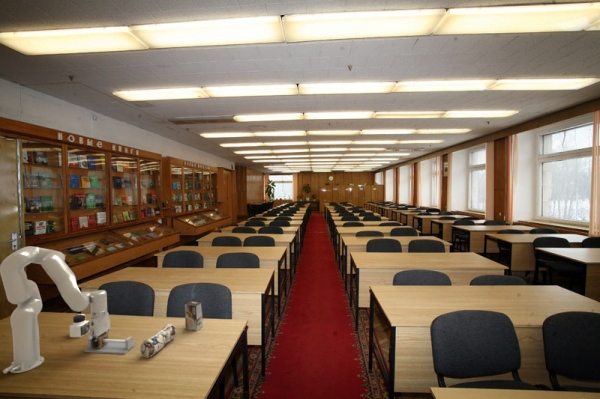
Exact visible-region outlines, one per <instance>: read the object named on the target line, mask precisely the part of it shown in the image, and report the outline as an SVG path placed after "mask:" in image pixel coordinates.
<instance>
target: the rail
mask: <svg viewBox="0 0 600 399" xmlns="http://www.w3.org/2000/svg"><path fill="white" fill-rule="evenodd" d="M102 342H108V344H106V345H105V346H103V347H102V348H100V349H96V348H92V341H91V340H89V339H87V348H85V349H84V350H83V351H84V353H92V354H111V355H113V354H114V355H126V354H127V353H128V352H130V351H131V350H132V349H133V348H134V347H136V346H137V343H134V336H128V337H127V338H126V339H116V338H115V339H114V338H113V339H112V338H111V339H110V338H108V339H102Z"/></svg>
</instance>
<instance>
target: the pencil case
mask: <svg viewBox="0 0 600 399" xmlns="http://www.w3.org/2000/svg"><path fill="white" fill-rule="evenodd" d="M177 333H178V330H177V327H176V325H174V324H173V323H172V322H171V323H168V324H167V325H165V326H164V327H163V328H162V329H161V330H159V331H158V332H157V333H156V334H154V335H153V336H151V337H148V338H146V339H143V340H142V343H141V345H140V353H141V356H142V357H143V358H146V359H149V357H150V358H151V357H153V356H154V355H156V354H157V353H158V352H159V351H160V350H162V349H163V348H164V347H165V346H166V345H167V344H168V343H170V342H171V341H172V340H173V339H174V338H175V337H176V336H177Z"/></svg>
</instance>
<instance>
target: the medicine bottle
mask: <svg viewBox="0 0 600 399" xmlns="http://www.w3.org/2000/svg"><path fill="white" fill-rule="evenodd" d="M86 319H87V318H86V314H84V313H81V314H76V315H75V316H74V317H72V320H73V321H72V324H71V325H69V327H68V328H69V338H83V337H84V336H86V335H87V334H88V333H90V320H86Z"/></svg>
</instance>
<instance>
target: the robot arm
mask: <svg viewBox="0 0 600 399" xmlns="http://www.w3.org/2000/svg"><path fill="white" fill-rule="evenodd" d="M65 260H66V256H65V254H64V253H63V252H61V251H58V250H54V249H50V248H43V247H39V246H31V245H30V246H29V245H28V246H25V247H22V248H20V249H18V250H16V251H14V252H13V253H10V255H8V256H6V257H5V258H4V259H3V260H2V262H1V263H0V277H1V281H2V284H3V288H4V291H5V294H6V299H7V301H8V303H11V304H12V305H17V307H15V309H14V310H13V312H12V313H11V315H10V319H9V320H10V322H9V323H10V326H11V331H12V333H11V334H12V347H13V348H12V349H13V361H11V364H10V365H9V366H8V367H5V369H3V370H2V373H3V374H7V373H8V372H10V373H11V374H19V373H25V372H28V371H30V370H33V369H35V368H37V367H39V366H40V365H42V364H43V363H44V362H45V358H44V356H41V352H40V332H39V322H38V315H39V314H40V313H41V311H42V310H43V301H42V297H41V294H40V290H39V288H38V287H39V286H38V285H37V283H36V282H35V281H33V280H31V279H28V276H27V273H26V271H25V267H26V266H28V265H30V264H31V263H32V264H36V265H37V264H38V265H41V267H42V268H43V270H44V271H45V272H46V274H47V276H49V278H50V279H51V280H52V281H53V283H54V284H55V285H56V287H57V289H58V292H59V293H60V296H61V297H62V299H63V300H64V302H65V303H66V304H67V305H68V307H69V308H70V309H71V310H72V311H74V312H82V311H85V310H86V309H87V308H88V306H89V305H90V319H89V325H90V332H89V334H88V336H87V340H88V339H89V340H91V341H92V348H98V340H97V339H98V336H100V335H101V334H103V333H104V332H105V333H108V334H109V331H110V328H111V326H112V324H111V319H110V314H109V312H108V297H107V296H108V294H107V291H106V290H105V289H99V290H94V291H81V290H80V288H79V287H78V284H77V277H76V275H75V273H74V272H73V271H72V269H71V268H70V267H69V265H68V264H67V263H66V261H65ZM94 336H96V337H95V338H94Z"/></svg>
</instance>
